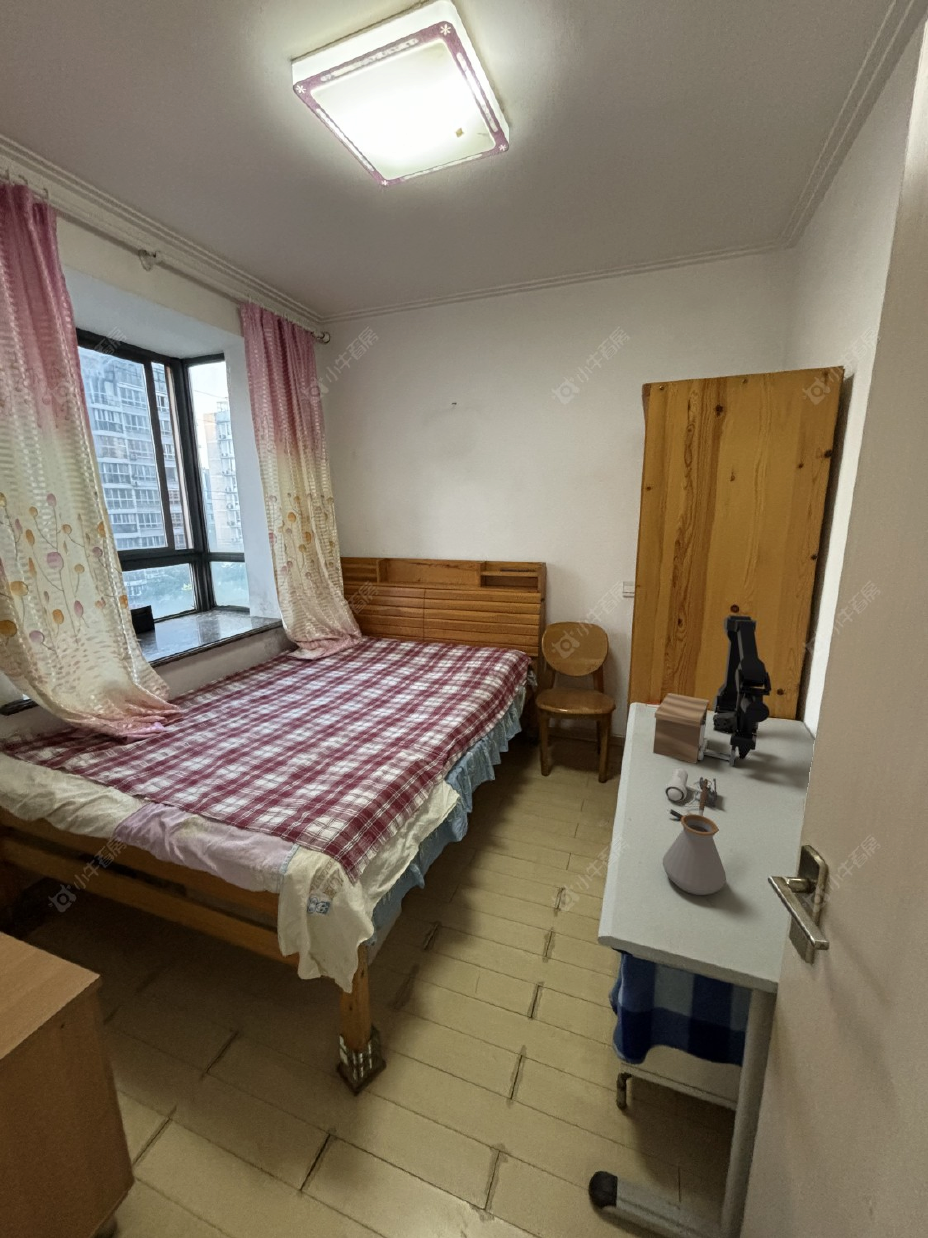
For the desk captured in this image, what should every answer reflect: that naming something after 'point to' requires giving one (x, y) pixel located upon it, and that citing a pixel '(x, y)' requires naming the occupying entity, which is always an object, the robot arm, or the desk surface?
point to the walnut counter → (679, 726)
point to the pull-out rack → (716, 753)
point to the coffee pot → (696, 854)
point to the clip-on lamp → (678, 790)
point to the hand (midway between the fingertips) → (741, 758)
